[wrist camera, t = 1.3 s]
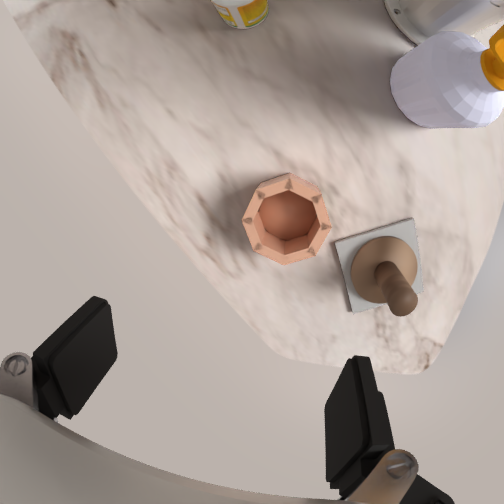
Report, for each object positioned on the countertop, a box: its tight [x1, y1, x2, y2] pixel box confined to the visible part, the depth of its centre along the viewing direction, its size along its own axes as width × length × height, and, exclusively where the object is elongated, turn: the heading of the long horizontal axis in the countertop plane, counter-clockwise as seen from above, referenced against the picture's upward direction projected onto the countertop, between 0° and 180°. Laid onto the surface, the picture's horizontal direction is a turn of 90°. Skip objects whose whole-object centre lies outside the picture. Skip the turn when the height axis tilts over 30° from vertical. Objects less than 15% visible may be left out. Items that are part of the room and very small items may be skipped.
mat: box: [335, 218, 424, 314], centre depth 33 cm, size 10×10×1 cm
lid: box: [351, 236, 418, 316], centre depth 29 cm, size 8×8×8 cm
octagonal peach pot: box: [242, 173, 332, 265], centre depth 30 cm, size 8×8×5 cm
